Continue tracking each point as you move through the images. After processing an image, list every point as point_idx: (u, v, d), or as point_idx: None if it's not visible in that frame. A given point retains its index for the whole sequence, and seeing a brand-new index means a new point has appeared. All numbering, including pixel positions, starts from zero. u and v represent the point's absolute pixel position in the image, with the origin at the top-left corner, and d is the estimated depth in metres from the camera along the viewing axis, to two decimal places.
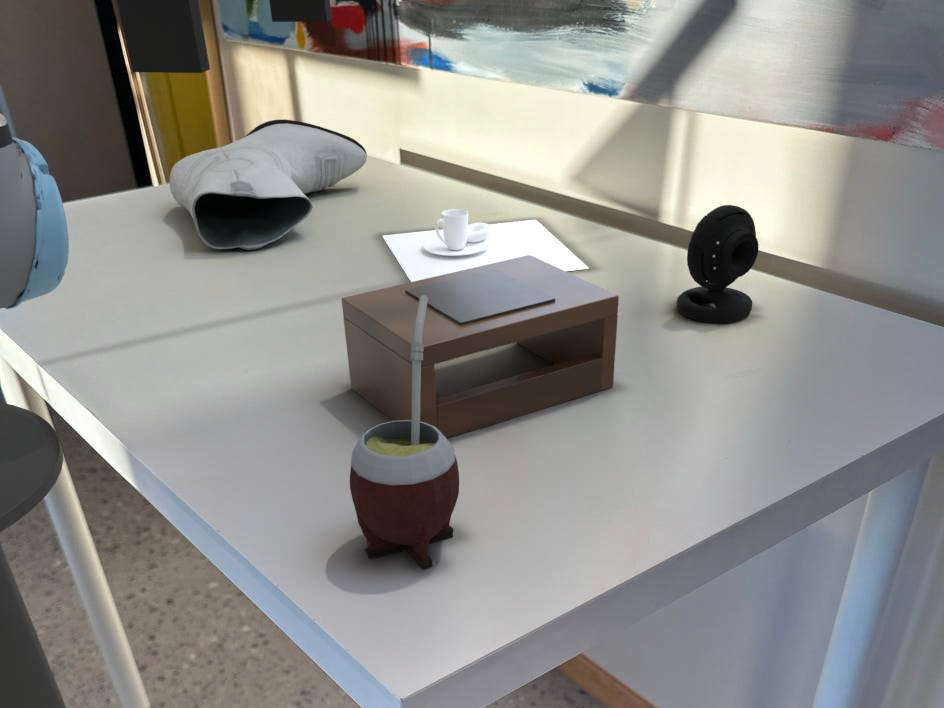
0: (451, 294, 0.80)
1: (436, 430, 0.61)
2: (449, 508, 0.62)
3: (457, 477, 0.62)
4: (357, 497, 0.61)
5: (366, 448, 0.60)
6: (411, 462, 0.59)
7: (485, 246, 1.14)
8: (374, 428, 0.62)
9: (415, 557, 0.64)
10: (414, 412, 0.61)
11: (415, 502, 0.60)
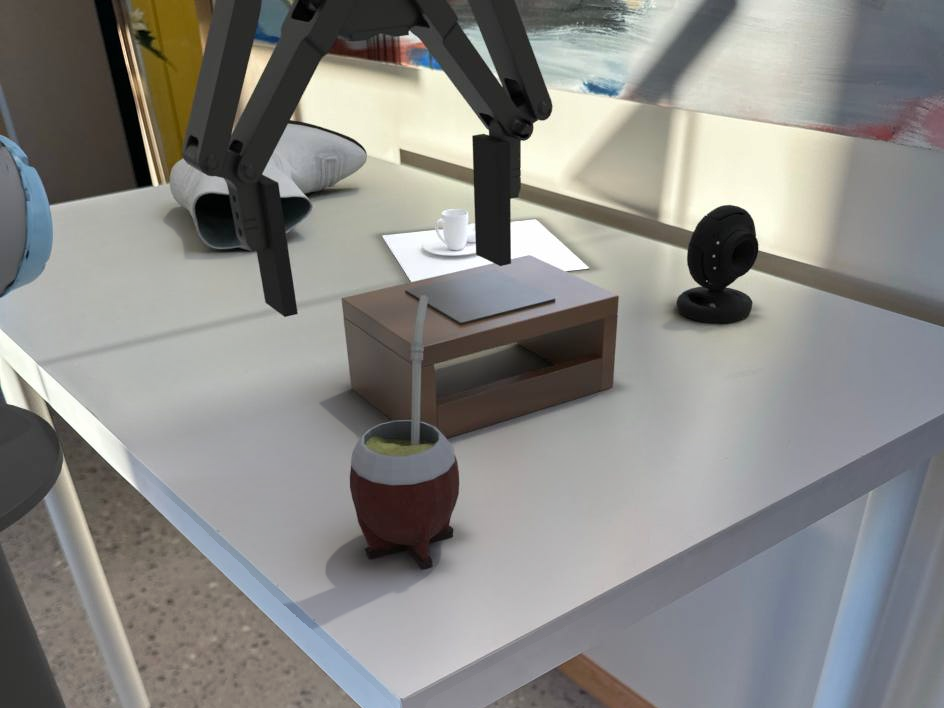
0: (451, 294, 0.80)
1: (436, 430, 0.61)
2: (449, 508, 0.62)
3: (457, 477, 0.62)
4: (357, 497, 0.61)
5: (366, 448, 0.60)
6: (411, 462, 0.59)
7: None
8: (374, 428, 0.62)
9: (415, 557, 0.64)
10: (414, 412, 0.61)
11: (415, 502, 0.60)
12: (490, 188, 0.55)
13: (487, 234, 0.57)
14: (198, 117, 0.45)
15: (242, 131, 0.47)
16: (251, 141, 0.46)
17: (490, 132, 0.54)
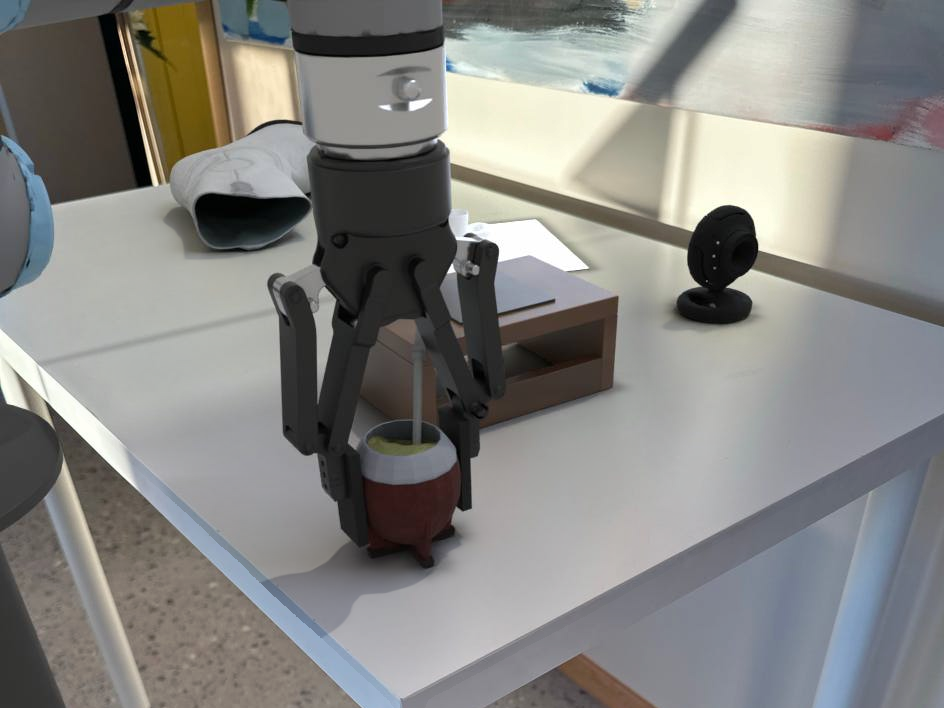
0: (451, 294, 0.80)
1: (438, 429, 0.61)
2: (451, 507, 0.62)
3: (459, 476, 0.62)
4: None
5: (368, 448, 0.60)
6: (413, 461, 0.59)
7: None
8: (376, 427, 0.62)
9: (417, 556, 0.64)
10: (416, 412, 0.61)
11: (417, 502, 0.60)
12: None
13: None
14: (289, 413, 0.56)
15: (323, 416, 0.57)
16: (333, 428, 0.57)
17: (453, 407, 0.63)
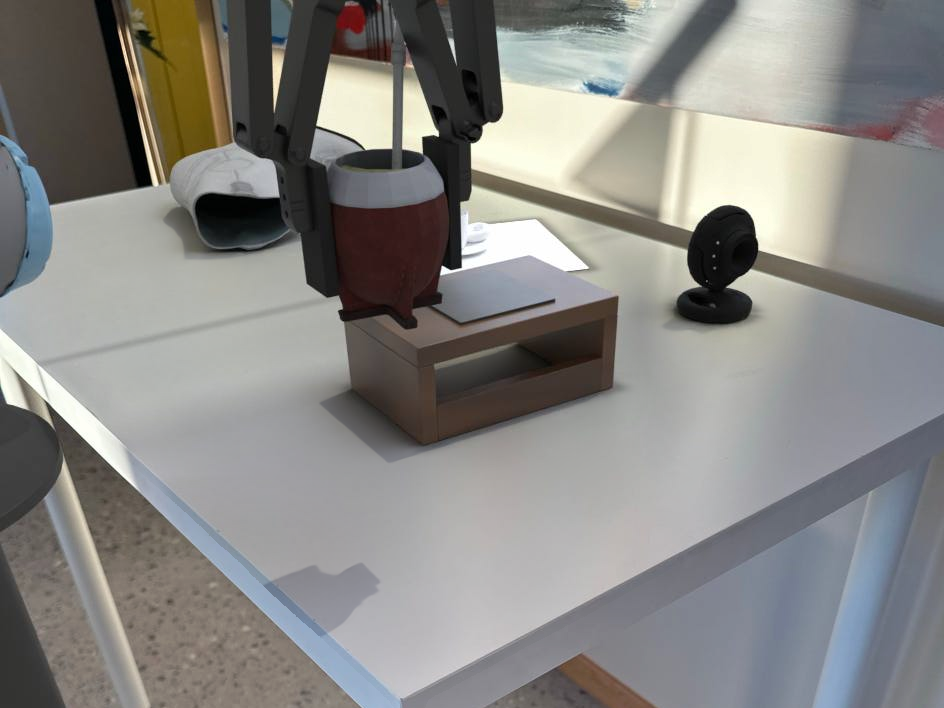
0: (451, 294, 0.80)
1: (422, 155, 0.52)
2: (437, 251, 0.52)
3: (447, 213, 0.52)
4: None
5: (337, 167, 0.50)
6: (391, 179, 0.49)
7: (485, 246, 1.14)
8: (348, 154, 0.52)
9: (397, 318, 0.54)
10: (396, 132, 0.51)
11: (396, 232, 0.50)
12: None
13: None
14: (239, 102, 0.46)
15: (282, 114, 0.48)
16: (293, 125, 0.47)
17: (440, 133, 0.53)
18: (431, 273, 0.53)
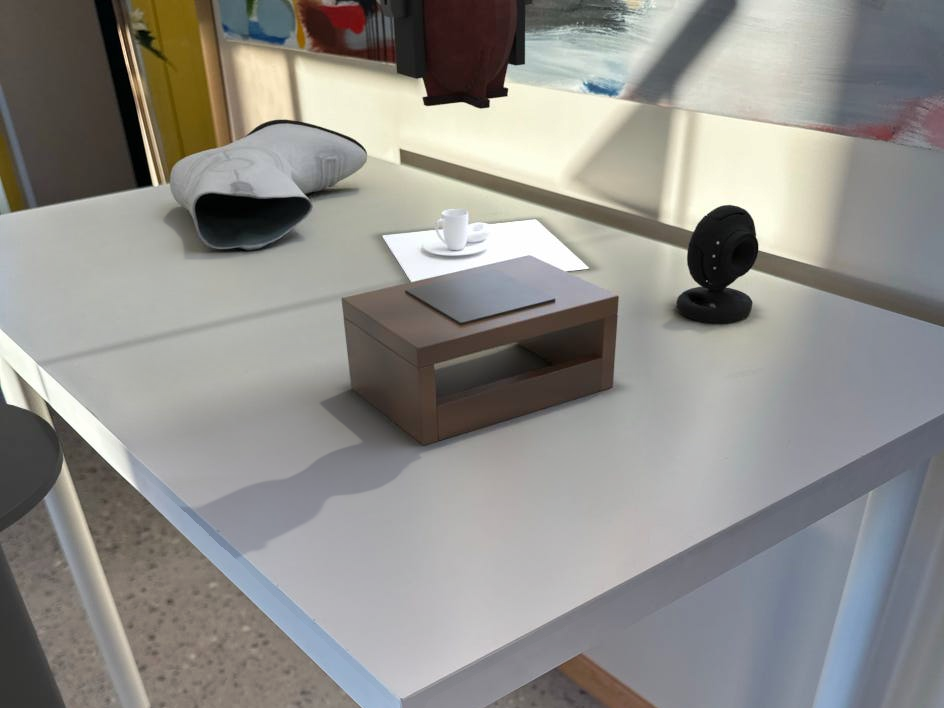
0: (451, 294, 0.80)
1: None
2: (507, 37, 0.63)
3: (515, 5, 0.63)
4: None
5: None
6: None
7: (485, 246, 1.14)
8: None
9: (472, 101, 0.65)
10: None
11: (475, 15, 0.61)
12: None
13: None
14: None
15: None
16: None
17: None
18: (501, 59, 0.64)
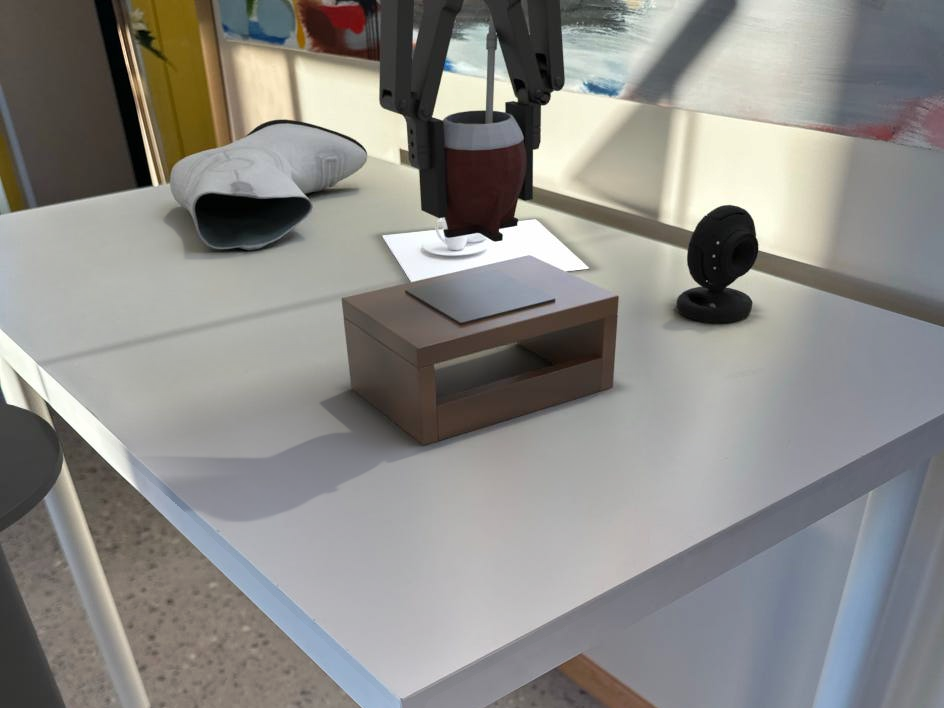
0: (451, 294, 0.80)
1: (507, 114, 0.72)
2: (518, 182, 0.72)
3: (525, 155, 0.72)
4: None
5: (449, 122, 0.70)
6: (489, 129, 0.69)
7: (485, 246, 1.14)
8: (454, 114, 0.72)
9: (487, 234, 0.74)
10: (489, 97, 0.72)
11: (491, 168, 0.70)
12: None
13: None
14: (387, 75, 0.67)
15: (414, 84, 0.68)
16: (423, 91, 0.67)
17: (518, 99, 0.73)
18: (513, 200, 0.73)
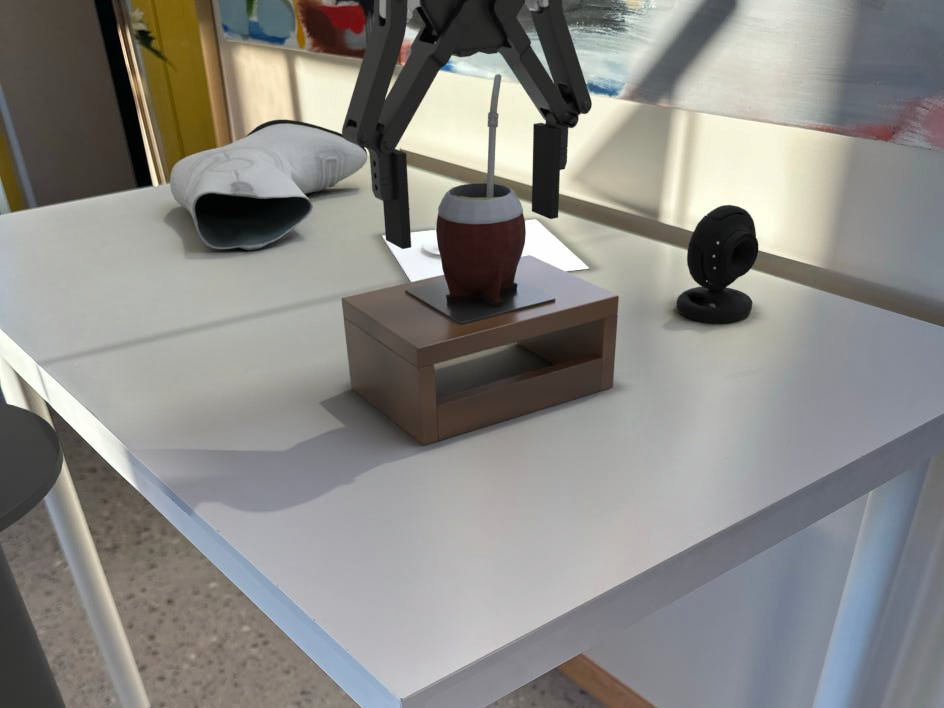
0: None
1: (507, 187, 0.75)
2: (518, 252, 0.76)
3: (524, 226, 0.75)
4: (443, 241, 0.75)
5: (452, 196, 0.73)
6: (490, 204, 0.72)
7: None
8: (456, 187, 0.76)
9: (488, 300, 0.78)
10: (490, 172, 0.75)
11: (492, 240, 0.73)
12: (545, 162, 0.76)
13: (541, 196, 0.78)
14: (356, 107, 0.67)
15: (383, 117, 0.68)
16: (391, 124, 0.67)
17: (546, 121, 0.75)
18: (513, 268, 0.77)
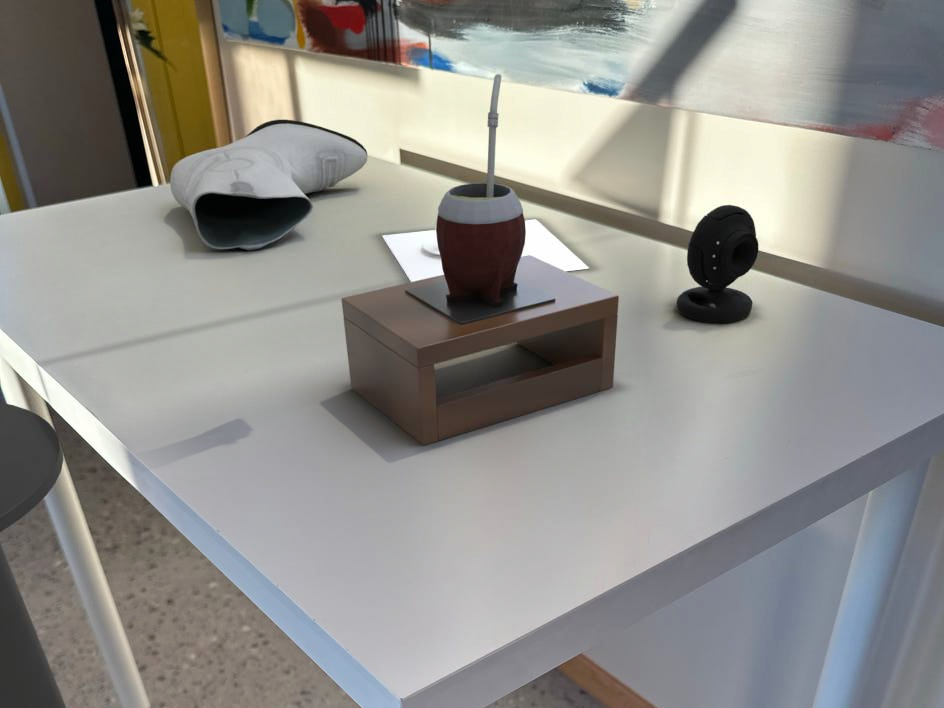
0: None
1: (507, 187, 0.75)
2: (518, 252, 0.76)
3: (524, 226, 0.75)
4: (443, 241, 0.75)
5: (452, 196, 0.73)
6: (490, 204, 0.72)
7: None
8: (456, 187, 0.76)
9: (488, 300, 0.78)
10: (490, 172, 0.75)
11: (492, 240, 0.73)
12: None
13: None
14: None
15: None
16: None
17: None
18: (513, 268, 0.77)
